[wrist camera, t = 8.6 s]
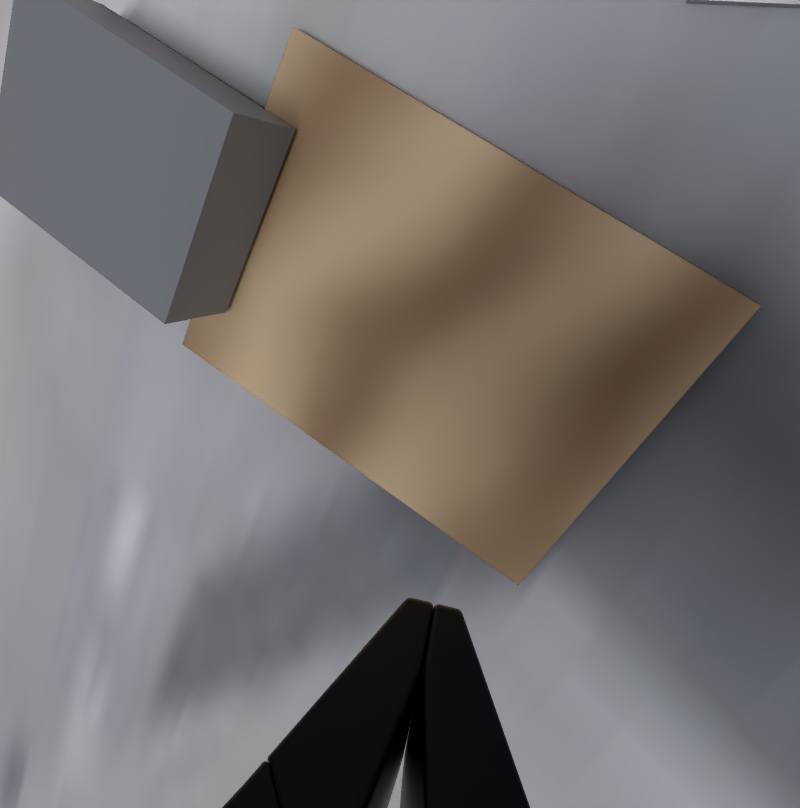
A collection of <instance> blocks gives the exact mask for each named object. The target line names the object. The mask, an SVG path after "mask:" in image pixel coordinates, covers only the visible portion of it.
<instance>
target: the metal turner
mask: <svg viewBox="0 0 800 808" xmlns="http://www.w3.org/2000/svg"><path fill="white" fill-rule="evenodd" d="M686 3H694V4H716V5H739V6H761V7H784V8H800V0H686Z"/></svg>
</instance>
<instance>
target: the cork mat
mask: <svg viewBox="0 0 800 808" xmlns="http://www.w3.org/2000/svg"><path fill="white" fill-rule="evenodd" d="M265 110H267V111H268V112H270V113H271V114H273V115H274V116H276V117H277V118H279V119H280V120H282V121H284V122H285V123H287V124H288V125H290V126H291V127H293V128H294V129H295V132H294V134H293V137H292V140H291V142H290V145H289V147H288V150H287V153H286V155H285V158H284V161H283V163H282V166H281V169H280V171H279V174H278V176H277V179H276V182H275V184H274V187H273V190H272V192H271V195H270V198H269V200H268V203H267V205H266V208H265V211H264V213H263V216H262V219H261V221H260V224H259V226H258V229H257V232H256V234H255V237H254V240H253V242H252V245H251V248H250V250H249V253H248V255H247V258H246V261H245V263H244V266H243V269H242V271H241V274H240V277H239V279H238V282H237V284H236V287H235V290H234V292H233V295H232V298H231V300H230V303H229V306H228V308H227V311H226V312H225V313H220V314H215V315H209V316H204V317H199V318H193V319H191V321H190V324H189V327H188V329H187V332H186V335H185V338H184V341H183V345H184V346H186V347H187V348H188V349H190V350H191V351H193V352H194V353H195V354H197V355H198V356H200V357H201V358H202V359H204V360H205V361H207V362H208V363H209V364H211V365H212V366H214V367H215V368H216V369H218V370H219V371H221V372H222V373H223V374H225V375H226V376H227V377H229V378H230V379H232V380H233V381H234V382H236V383H237V384H239V385H240V386H241V387H243V388H244V389H246V390H247V391H248V392H250V393H251V394H253V395H254V396H255V397H257V398H258V399H260V400H261V401H262V402H264V403H265V404H266V405H268V406H269V407H271V408H272V409H273V410H275V411H276V412H278V413H279V414H280V415H282V416H283V417H285V418H286V419H287V420H289V421H290V422H292V423H293V424H294V425H296V426H297V427H299V428H300V429H301V430H303V431H304V432H305V433H307V434H308V435H310V436H311V437H312V438H314V439H315V440H317V441H318V442H319V443H321V444H322V445H324V446H325V447H326V448H328V449H329V450H331V451H332V452H333V453H335V454H336V455H338V456H339V457H340V458H342V459H343V460H345V461H346V462H347V463H349V464H350V465H351V466H353V467H354V468H356V469H357V470H358V471H360V472H361V473H363V474H364V475H365V476H367V477H368V478H370V479H371V480H372V481H374V482H375V483H377V484H378V485H379V486H381V487H382V488H384V489H385V490H386V491H388V492H389V493H390V494H392V495H393V496H395V497H396V498H397V499H399V500H400V501H402V502H403V503H404V504H406V505H407V506H409V507H410V508H411V509H413V510H414V511H416V512H417V513H418V514H420V515H421V516H423V517H424V518H425V519H427V520H428V521H429V522H431V523H432V524H434V525H435V526H436V527H438V528H439V529H441V530H442V531H443V532H445V533H446V534H448V535H449V536H450V537H452V538H453V539H455V540H456V541H457V542H459V543H460V544H462V545H463V546H464V547H466V548H467V549H468V550H470V551H471V552H473V553H474V554H475V555H477V556H478V557H480V558H481V559H482V560H484V561H485V562H487V563H488V564H489V565H491V566H492V567H494V568H495V569H496V570H498V571H499V572H501V573H502V574H503V575H505V576H506V577H507V578H509V579H510V580H512V581H513V582H514V583H516V584H517V585H519V584H520V582H521V581H522V580H523V579H524V578H525V577H526V576H527V574H528V573H529V572H530V571H531V570H532V569H533V568H534V566H535V565H536V564H537V563H538V562H539V561H540V559H541V558H542V557H543V556H544V555H545V554H546V553H547V551H548V550H549V549H550V548H551V547H552V546H553V545H554V543H555V542H556V541H557V540H558V539H559V538H560V537H561V535H562V534H563V533H564V532H565V531H566V530H567V528H568V527H569V526H570V525H571V524H572V523H573V522H574V520H575V519H576V518H577V517H578V516H579V515H580V514H581V512H582V511H583V510H584V509H585V508H586V507H587V505H588V504H589V503H590V502H591V501H592V500H593V499H594V497H595V496H596V495H597V494H598V493H599V492H600V491H601V489H602V488H603V487H604V486H605V485H606V484H607V483H608V481H609V480H610V479H611V478H612V477H613V476H614V474H615V473H616V472H617V471H618V470H619V469H620V468H621V466H622V465H623V464H624V463H625V462H626V461H627V460H628V458H629V457H630V456H631V455H632V454H633V453H634V451H635V450H636V449H637V448H638V447H639V446H640V445H641V443H642V442H643V441H644V440H645V439H646V438H647V437H648V435H649V434H650V433H651V432H652V431H653V430H654V429H655V427H656V426H657V425H658V424H659V423H660V422H661V420H662V419H663V418H664V417H665V416H666V415H667V414H668V412H669V411H670V410H671V409H672V408H673V407H674V406H675V404H676V403H677V402H678V401H679V400H680V399H681V398H682V396H683V395H684V394H685V393H686V392H687V391H688V389H689V388H690V387H691V386H692V385H693V384H694V383H695V381H696V380H697V379H698V378H699V377H700V376H701V375H702V373H703V372H704V371H705V370H706V369H707V368H708V366H709V365H710V364H711V363H712V362H713V361H714V360H715V358H716V357H717V356H718V355H719V354H720V353H721V352H722V350H723V349H724V348H725V347H726V346H727V345H728V344H729V342H730V341H731V340H732V339H733V338H734V337H735V335H736V334H737V333H738V332H739V331H740V330H741V329H742V327H743V326H744V325H745V324H746V323H747V322H748V321H749V319H750V318H751V317H752V316H753V315H754V314H755V312H756V311H757V310H758V309H759V308H760V307H761V305H759V304H758V303H756V302H755V301H753V300H751V299H750V298H748V297H746V296H745V295H743V294H741V293H740V292H738V291H736V290H734V289H733V288H731V287H729V286H728V285H726V284H724V283H723V282H721V281H719V280H718V279H716V278H714V277H713V276H711V275H709V274H708V273H706V272H704V271H703V270H701V269H699V268H698V267H696V266H694V265H693V264H691V263H689V262H688V261H686V260H684V259H683V258H681V257H679V256H678V255H676V254H674V253H673V252H671V251H669V250H667V249H666V248H664V247H662V246H661V245H659V244H657V243H656V242H654V241H652V240H651V239H649V238H647V237H646V236H644V235H642V234H641V233H639V232H637V231H636V230H634V229H632V228H631V227H629V226H627V225H626V224H624V223H622V222H621V221H619V220H617V219H616V218H614V217H612V216H611V215H609V214H607V213H606V212H604V211H602V210H600V209H599V208H597V207H595V206H594V205H592V204H590V203H589V202H587V201H585V200H584V199H582V198H580V197H579V196H577V195H575V194H574V193H572V192H570V191H569V190H567V189H565V188H564V187H562V186H560V185H559V184H557V183H555V182H554V181H552V180H550V179H549V178H547V177H545V176H544V175H542V174H540V173H539V172H537V171H535V170H533V169H532V168H530V167H528V166H527V165H525V164H523V163H522V162H520V161H518V160H517V159H515V158H513V157H512V156H510V155H508V154H507V153H505V152H503V151H502V150H500V149H498V148H497V147H495V146H493V145H492V144H490V143H488V142H487V141H485V140H483V139H482V138H480V137H478V136H477V135H475V134H473V133H472V132H470V131H468V130H466V129H465V128H463V127H461V126H460V125H458V124H456V123H455V122H453V121H451V120H450V119H448V118H446V117H445V116H443V115H441V114H440V113H438V112H436V111H435V110H433V109H431V108H430V107H428V106H426V105H425V104H423V103H421V102H420V101H418V100H416V99H415V98H413V97H411V96H410V95H408V94H406V93H405V92H403V91H401V90H399V89H398V88H396V87H394V86H393V85H391V84H389V83H388V82H386V81H384V80H383V79H381V78H379V77H378V76H376V75H374V74H373V73H371V72H369V71H368V70H366V69H364V68H363V67H361V66H359V65H358V64H356V63H354V62H353V61H351V60H349V59H348V58H346V57H344V56H343V55H341V54H339V53H338V52H336V51H334V50H332V49H331V48H329V47H327V46H326V45H324V44H322V43H321V42H319V41H317V40H316V39H314V38H312V37H311V36H309V35H307V34H306V33H304V32H302V31H301V30H299V29H297V28H295V27H293V29H292V32H291V35H290V37H289V40H288V43H287V46H286V49H285V52H284V55H283V57H282V60H281V63H280V66H279V69H278V72H277V75H276V77H275V80H274V83H273V86H272V89H271V92H270V95H269V98H268V100H267V103H266V106H265Z"/></svg>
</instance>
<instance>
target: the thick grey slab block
mask: <svg viewBox="0 0 800 808" xmlns="http://www.w3.org/2000/svg"><path fill="white" fill-rule="evenodd" d="M294 132H295V129H294V128H293V127H291V126H290V125H288V124H287V123H285V122H284V121H282V120H280V119H279V118H277V117H276V116H274V115H273V114H271V113H270V112H268V111H267V110H265V109H263V108H262V107H260V106H259V105H257V104H256V103H254V102H253V101H251V100H250V99H248V98H246V97H245V96H243V95H242V94H240V93H239V92H237V91H236V90H234V89H232V88H231V87H229V86H228V85H226V84H225V83H223V82H222V81H220V80H219V79H217V78H215V77H214V76H212V75H211V74H209V73H208V72H206V71H205V70H203V69H201V68H200V67H198V66H197V65H195V64H194V63H192V62H191V61H189V60H188V59H186V58H184V57H183V56H181V55H180V54H178V53H177V52H175V51H174V50H172V49H171V48H169V47H167V46H166V45H164V44H163V43H161V42H160V41H158V40H157V39H155V38H153V37H152V36H150V35H149V34H147V33H146V32H144V31H143V30H141V29H140V28H138V27H136V26H135V25H133V24H132V23H130V22H129V21H127V20H126V19H124V18H122V17H121V16H119V15H118V14H116V13H115V12H113V11H112V10H110V9H109V8H107V7H105V6H104V5H102V4H100V3H97V2H95V1H92V0H14V2H13V8H12V15H11V22H10V29H9V36H8V44H7V51H6V58H5V64H4V71H3V79H2V86H1V93H0V196H1V197H2V198H4V199H5V200H6V201H7V202H9V203H10V204H11V205H13V206H14V207H15V208H16V209H18V210H19V211H20V212H22V213H23V214H24V215H25V216H27V217H28V218H29V219H31V220H32V221H33V222H34V223H36V224H37V225H38V226H40V227H41V228H42V229H43V230H45V231H46V232H47V233H49V234H50V235H51V236H52V237H54V238H55V239H56V240H58V241H59V242H60V243H61V244H63V245H64V246H65V247H67V248H68V249H69V250H70V251H72V252H73V253H74V254H76V255H77V256H78V257H79V258H81V259H82V260H83V261H85V262H86V263H87V264H88V265H90V266H91V267H92V268H94V269H95V270H96V271H97V272H99V273H100V274H101V275H103V276H104V277H105V278H106V279H108V280H109V281H110V282H112V283H113V284H114V285H115V286H117V287H118V288H119V289H121V290H122V291H123V292H124V293H126V294H127V295H128V296H130V297H131V298H132V299H133V300H135V301H136V302H137V303H139V304H140V305H141V306H142V307H144V308H145V309H146V310H148V311H149V312H150V313H151V314H153V315H154V316H155V317H157V318H158V319H159V320H160V321H162V322H163V323H164V324H167V323H172V322H177V321H183V320H188V319H193V318H199V317H204V316H209V315H215V314H220V313H225V312H226V311H227V308H228V306H229V303H230V300H231V298H232V295H233V292H234V290H235V287H236V284H237V282H238V279H239V277H240V274H241V271H242V269H243V266H244V263H245V261H246V258H247V255H248V253H249V250H250V248H251V245H252V242H253V240H254V237H255V234H256V232H257V229H258V226H259V224H260V221H261V219H262V216H263V213H264V211H265V208H266V205H267V203H268V200H269V198H270V195H271V192H272V190H273V187H274V184H275V182H276V179H277V176H278V174H279V171H280V169H281V166H282V163H283V161H284V158H285V155H286V153H287V150H288V147H289V145H290V142H291V140H292V137H293V134H294Z"/></svg>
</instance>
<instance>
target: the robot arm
mask: <svg viewBox="0 0 800 808" xmlns="http://www.w3.org/2000/svg"><path fill="white" fill-rule="evenodd" d="M432 612H433V613H432ZM410 722H411V723H410ZM409 727H410V728H409ZM408 732H409V733H408ZM407 736H408V739H407ZM406 741H407V745H406ZM405 745H406V751H405V757H404V767H403V777H402V790H401V802H400V808H530V806H529V803H528V801H527V798H526V795H525V792H524V789H523V786H522V783H521V780H520V778H519V775H518V772H517V769H516V766H515V763H514V760H513V758H512V755H511V752H510V749H509V746H508V743H507V740H506V737H505V735H504V732H503V729H502V726H501V723H500V720H499V717H498V714H497V712H496V709H495V706H494V703H493V700H492V697H491V694H490V692H489V689H488V686H487V683H486V680H485V677H484V674H483V671H482V669H481V666H480V663H479V660H478V657H477V654H476V651H475V649H474V646H473V643H472V640H471V637H470V634H469V631H468V628H467V626H466V623H465V620H464V617H463V614H462V612H461V611H460V610H459V609H456V608H452V607H447V606H443V605H439V604H438V605H435V606H434V608H433V605H432V604H431V603H430V602H427V601H423V600H419V599H414V598H407V599H406V600H405V601H404V602H403V603H402V604H401V605H400V607H399V608H398V609H397V610H396V611H395V612H394V613H393V615H392V616H391V617H390V618H389V619H388V620H387V621H386V623H385V624H384V625H383V626H382V627H381V628H380V629H379V631H378V632H377V633H376V634H375V635H374V636H373V637H372V639H371V640H370V641H369V642H368V643H367V644H366V645H365V647H364V648H363V649H362V650H361V651H360V652H359V653H358V655H357V656H356V657H355V658H354V659H353V660H352V661H351V663H350V664H349V665H348V666H347V667H346V668H345V669H344V671H343V672H342V673H341V674H340V675H339V676H338V677H337V679H336V680H335V681H334V682H333V683H332V684H331V686H330V687H329V688H328V689H327V690H326V691H325V692H324V694H323V695H322V696H321V697H320V698H319V699H318V700H317V702H316V703H315V704H314V705H313V706H312V707H311V708H310V710H309V711H308V712H307V713H306V714H305V715H304V716H303V718H302V719H301V720H300V721H299V722H298V723H297V724H296V726H295V727H294V728H293V729H292V730H291V731H290V732H289V734H288V735H287V736H286V737H285V738H284V739H283V740H282V742H281V743H280V744H279V745H278V746H277V747H276V748H275V750H274V751H273V752H272V753H271V754H270V755H269V757H268V762H266V761H265V762H263V763H262V764H261V765H260V766H259V767H258V769H257V770H256V771H255V772H254V773H253V774H252V776H251V777H250V778H249V779H248V780H247V781H246V782H245V784H244V785H243V786H242V787H241V788H240V789H239V790H238V791H237V792H236V793H235V794H234V795H233V797H232V798H231V799H230V800H229V801H228V802H227V803H226V804H225V805H224V806H223V807H222V808H387V807H388V804H389V801H390V797H391V794H392V791H393V788H394V785H395V782H396V778H397V775H398V772H399V769H400V765H401V762H402V758H403V754H404V750H405Z"/></svg>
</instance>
